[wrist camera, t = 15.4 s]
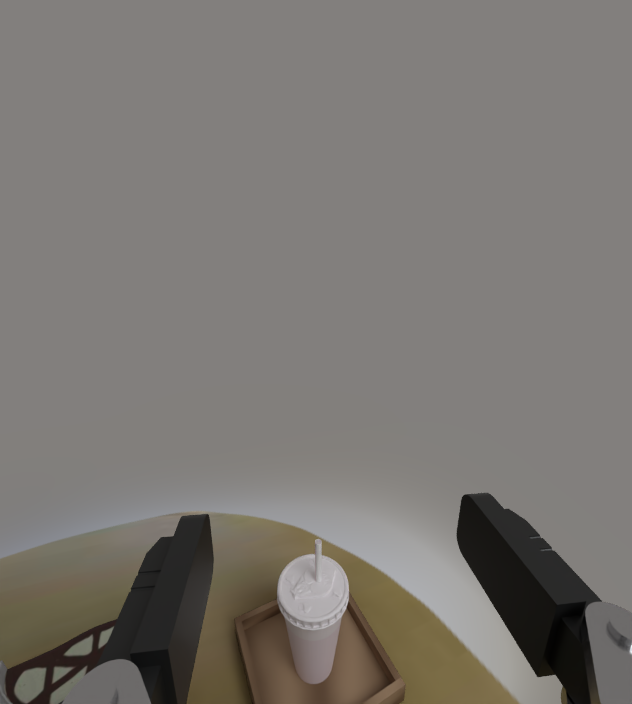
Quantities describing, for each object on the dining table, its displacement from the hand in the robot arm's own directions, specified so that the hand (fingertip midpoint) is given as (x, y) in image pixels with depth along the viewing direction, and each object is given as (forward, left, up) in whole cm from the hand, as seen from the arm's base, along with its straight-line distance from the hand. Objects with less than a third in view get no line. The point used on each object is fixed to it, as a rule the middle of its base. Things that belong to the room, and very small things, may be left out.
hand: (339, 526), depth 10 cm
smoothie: (+5, +13, -30) cm, 33 cm away
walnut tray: (+5, +13, -30) cm, 33 cm away
